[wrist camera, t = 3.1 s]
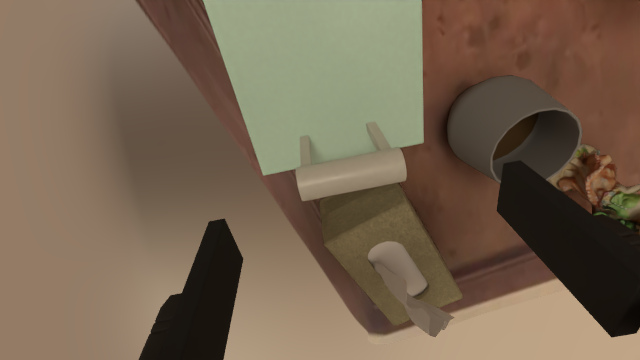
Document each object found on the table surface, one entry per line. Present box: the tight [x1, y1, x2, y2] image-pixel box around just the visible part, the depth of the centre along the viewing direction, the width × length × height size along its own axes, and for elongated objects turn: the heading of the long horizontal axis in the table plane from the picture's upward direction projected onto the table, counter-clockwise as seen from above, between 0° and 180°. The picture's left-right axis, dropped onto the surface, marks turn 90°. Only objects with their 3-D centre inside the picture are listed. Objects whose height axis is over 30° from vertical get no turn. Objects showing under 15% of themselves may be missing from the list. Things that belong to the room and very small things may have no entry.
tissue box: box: [319, 182, 463, 337], centre depth 36 cm, size 19×10×16 cm, turn 32°
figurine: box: [547, 144, 640, 235], centre depth 33 cm, size 9×8×15 cm
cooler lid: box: [203, 0, 424, 201], centre depth 17 cm, size 19×13×8 cm
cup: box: [447, 75, 583, 183], centre depth 30 cm, size 10×9×10 cm
